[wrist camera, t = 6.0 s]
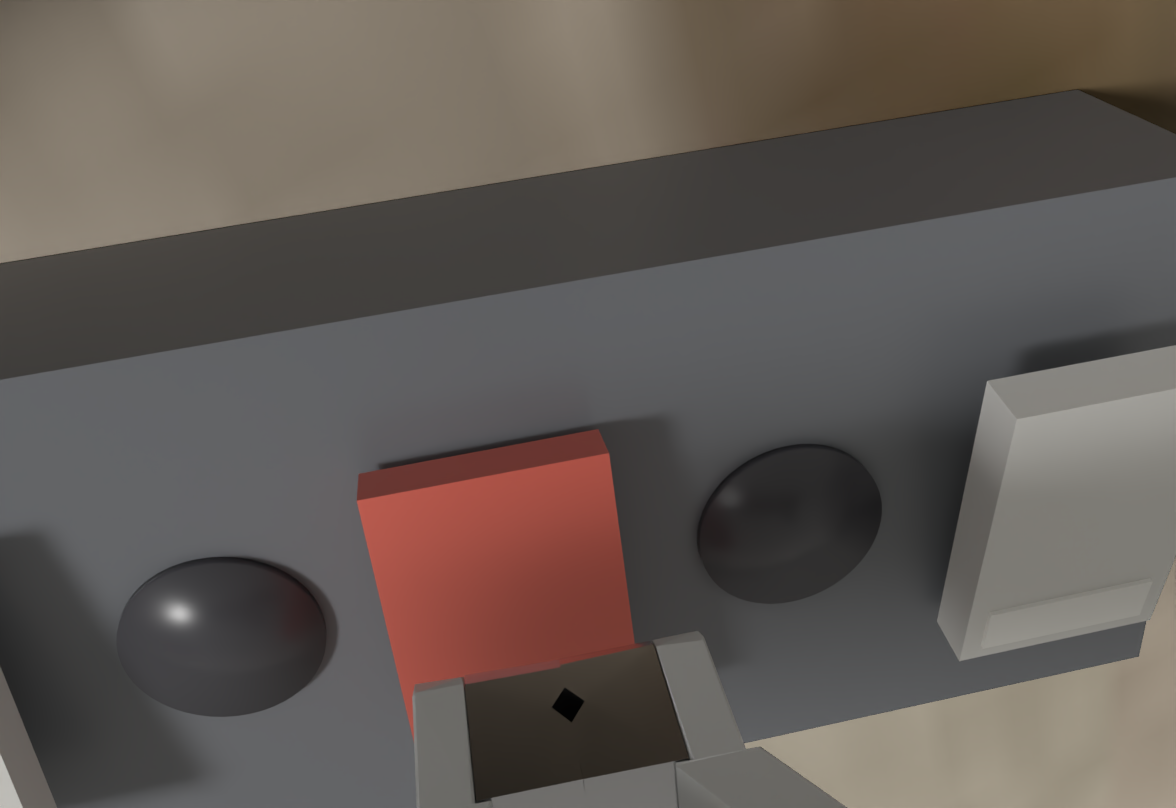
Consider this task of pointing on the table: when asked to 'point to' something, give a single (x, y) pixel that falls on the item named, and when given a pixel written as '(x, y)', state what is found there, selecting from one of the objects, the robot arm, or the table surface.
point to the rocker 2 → (1065, 505)
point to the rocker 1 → (19, 760)
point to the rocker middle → (497, 558)
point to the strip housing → (549, 430)
